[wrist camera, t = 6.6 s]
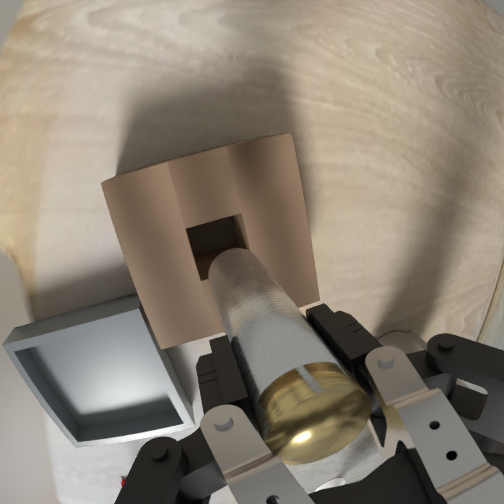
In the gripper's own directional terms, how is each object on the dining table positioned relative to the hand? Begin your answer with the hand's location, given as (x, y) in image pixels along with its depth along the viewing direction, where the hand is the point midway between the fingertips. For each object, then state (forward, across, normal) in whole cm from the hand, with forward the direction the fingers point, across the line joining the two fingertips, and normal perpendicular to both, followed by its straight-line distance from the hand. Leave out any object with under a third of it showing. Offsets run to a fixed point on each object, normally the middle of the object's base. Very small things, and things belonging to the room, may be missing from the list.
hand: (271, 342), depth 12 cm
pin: (+7, 0, 0) cm, 7 cm away
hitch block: (+19, 0, 0) cm, 19 cm away
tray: (+19, +16, +12) cm, 27 cm away
